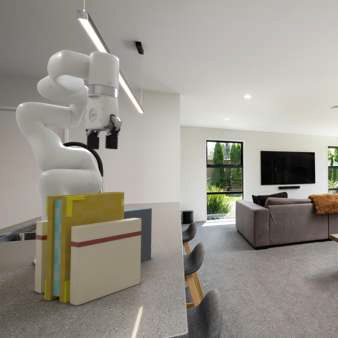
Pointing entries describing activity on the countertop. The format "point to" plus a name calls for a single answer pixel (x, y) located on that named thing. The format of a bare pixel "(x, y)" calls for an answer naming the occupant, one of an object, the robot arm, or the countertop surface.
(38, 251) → the cream book
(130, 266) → the cream panel
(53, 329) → the countertop surface
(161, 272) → the countertop surface
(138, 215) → the grey book
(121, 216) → the book
